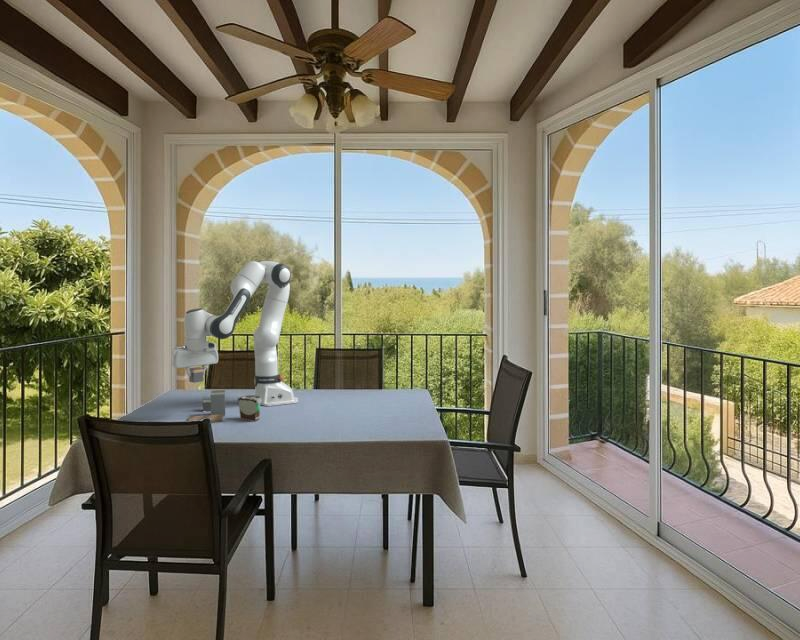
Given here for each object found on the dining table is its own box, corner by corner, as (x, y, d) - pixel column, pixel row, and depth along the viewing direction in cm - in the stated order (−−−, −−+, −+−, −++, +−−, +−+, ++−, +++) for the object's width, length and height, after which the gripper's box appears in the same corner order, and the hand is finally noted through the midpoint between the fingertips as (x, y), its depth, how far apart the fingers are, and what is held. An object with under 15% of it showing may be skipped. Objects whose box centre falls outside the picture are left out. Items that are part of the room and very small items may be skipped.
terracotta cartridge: (203, 381, 240) (203, 368, 240) (194, 382, 237) (193, 369, 236) (198, 380, 243) (198, 367, 243) (189, 381, 240) (188, 368, 239)
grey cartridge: (213, 409, 258) (212, 396, 258) (212, 411, 254) (212, 398, 253) (203, 409, 257) (203, 397, 256) (202, 411, 252) (202, 399, 252)
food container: (268, 418, 239) (267, 396, 238) (257, 421, 233) (257, 399, 233) (248, 415, 245) (247, 393, 244) (238, 418, 240) (237, 396, 239)
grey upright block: (225, 412, 250) (224, 389, 249) (225, 415, 244) (224, 392, 243) (211, 413, 248) (211, 390, 248) (211, 416, 242) (210, 392, 242)
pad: (222, 416, 242) (222, 414, 242) (222, 422, 233) (222, 419, 233) (189, 419, 238) (189, 416, 238) (187, 424, 229) (187, 421, 229)
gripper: (175, 347, 229) (176, 379, 230) (219, 343, 244) (220, 373, 245) (169, 346, 233) (170, 378, 234) (212, 342, 248) (213, 372, 249)
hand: (196, 375), depth 240 cm, fingers closed on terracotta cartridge, 4 cm apart
